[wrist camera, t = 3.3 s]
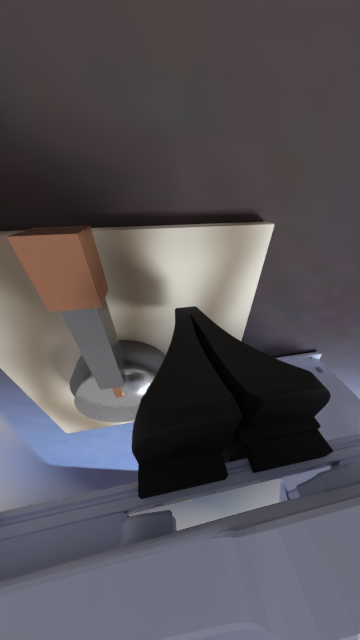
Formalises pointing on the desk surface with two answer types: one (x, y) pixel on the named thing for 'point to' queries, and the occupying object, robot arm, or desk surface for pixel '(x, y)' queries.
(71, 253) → the frying pan
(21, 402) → the desk surface
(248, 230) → the board
